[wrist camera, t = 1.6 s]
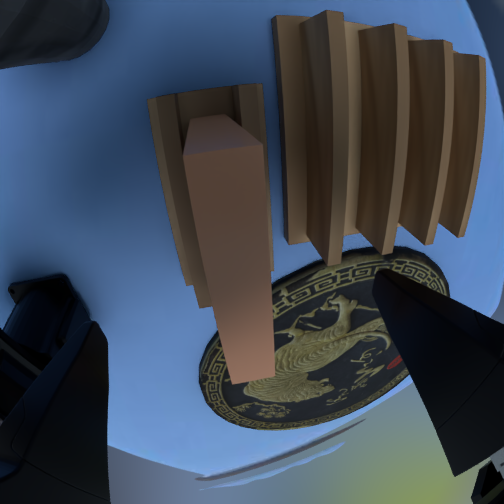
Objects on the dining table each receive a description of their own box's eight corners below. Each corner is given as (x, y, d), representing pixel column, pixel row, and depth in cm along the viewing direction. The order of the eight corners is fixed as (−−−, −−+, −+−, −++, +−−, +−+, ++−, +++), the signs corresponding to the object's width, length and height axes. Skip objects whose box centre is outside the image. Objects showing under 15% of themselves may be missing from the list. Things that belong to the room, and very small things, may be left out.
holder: (186, 278, 20) (186, 310, 17) (149, 99, 13) (137, 101, 10) (271, 264, 20) (283, 293, 18) (259, 83, 14) (274, 82, 11)
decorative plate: (473, 313, 30) (327, 435, 40) (466, 305, 31) (323, 426, 41) (361, 177, 17) (151, 411, 26) (347, 168, 18) (151, 397, 28)
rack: (284, 237, 19) (306, 277, 16) (271, 19, 12) (298, -3, 8) (436, 213, 21) (471, 239, 17) (449, 51, 13) (493, 56, 9)
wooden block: (213, 262, 18) (232, 384, 11) (190, 119, 13) (182, 155, 6) (241, 257, 19) (275, 376, 11) (224, 113, 14) (263, 144, 6)
